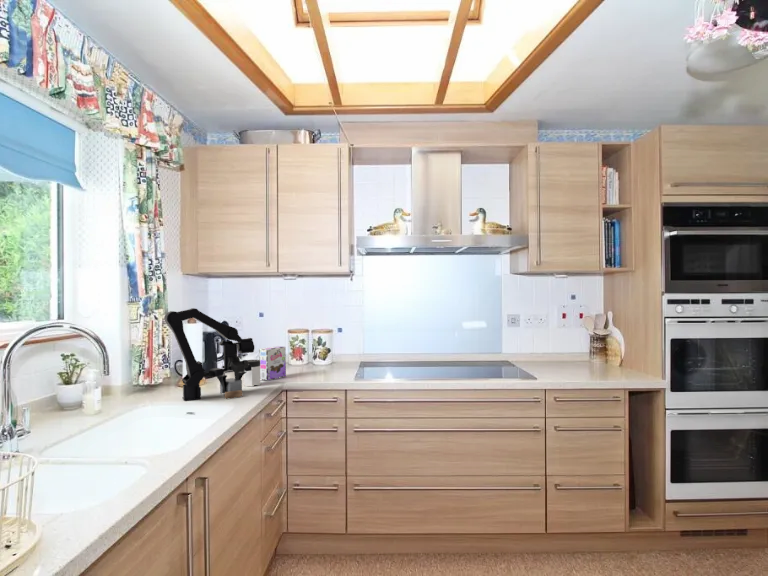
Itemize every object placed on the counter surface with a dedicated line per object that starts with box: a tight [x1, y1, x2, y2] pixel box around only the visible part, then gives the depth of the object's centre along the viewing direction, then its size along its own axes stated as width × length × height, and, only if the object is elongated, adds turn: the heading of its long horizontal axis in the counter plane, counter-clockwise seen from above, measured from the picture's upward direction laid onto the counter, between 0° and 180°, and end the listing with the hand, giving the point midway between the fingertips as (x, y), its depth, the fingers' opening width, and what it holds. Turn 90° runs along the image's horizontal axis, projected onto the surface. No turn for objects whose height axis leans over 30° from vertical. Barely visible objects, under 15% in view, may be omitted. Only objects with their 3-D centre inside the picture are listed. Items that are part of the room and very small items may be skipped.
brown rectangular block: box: [224, 390, 243, 400], centre depth 199 cm, size 7×2×2 cm, turn 121°
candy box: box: [258, 345, 287, 381], centre depth 242 cm, size 14×6×16 cm, turn 147°
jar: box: [243, 359, 262, 387], centre depth 225 cm, size 9×8×12 cm
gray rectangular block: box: [219, 377, 243, 394], centre depth 207 cm, size 6×8×6 cm
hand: (231, 388), depth 207 cm, fingers closed on gray rectangular block, 6 cm apart
